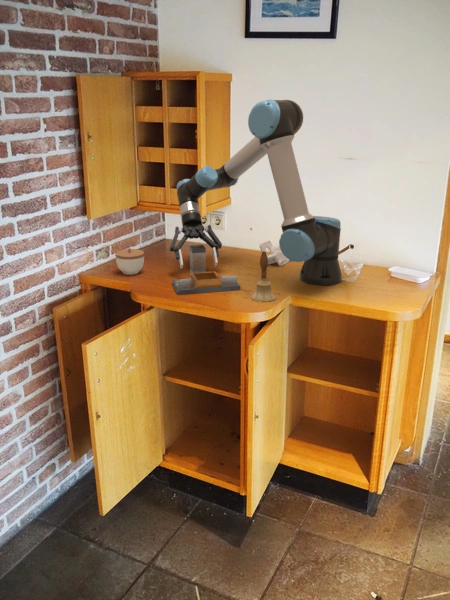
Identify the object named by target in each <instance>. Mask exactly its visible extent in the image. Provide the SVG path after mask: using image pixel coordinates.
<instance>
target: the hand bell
mask: <svg viewBox="0 0 450 600" xmlns="http://www.w3.org/2000/svg"><path fill="white" fill-rule="evenodd" d="M266 253H267V251H266V252H265V251H263V252H261V255H260V258H259V261H260V262H259V265H260V269H261V278H260V280H258V282H257V283H256V288H255V291H254V292H253V293H252V295H251V297H250V298H251V300H252V301H255V300H256V301H255V302H258V301H261V302H260V303H267V302H268V303H269V302H272V301H275V300H276V299H277V297H276V295H275V294H274V293H273V291H272V286H271V282H270V281H268V280H267V269H268V266H269V265H268V258H267V256H268V253H267V254H266Z"/></svg>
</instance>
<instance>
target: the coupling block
mask: <svg viewBox="0 0 450 600" xmlns="http://www.w3.org/2000/svg"><path fill="white" fill-rule="evenodd" d="M206 249H207V248H206V247H205V245H204V244H195V245H189V271H190V275H191V273H200V272H207V259H206V258H207V250H206Z"/></svg>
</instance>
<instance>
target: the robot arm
mask: <svg viewBox="0 0 450 600" xmlns="http://www.w3.org/2000/svg"><path fill="white" fill-rule="evenodd" d="M247 121H248V122H247V124H248V130H249V132H250V133H251V134H252V136H254V137H253V138H252V139H251V140H250V141H249V142H247V143H246V144H245V145H244V146H243V147H241V149H239V151H237V152H236V153H235V154H234V155H233V156H232V157H230V159H228V160H227V161H226V162H225V163H224V164H222V166H220V167H219V168H216V169H215V168H213V167H212V166H209V165H205V166H203V167H201V168H200V169H199V170H197V172H196V173H195V174H194V175H193V176H192V177H191V178H184V179H182V180H180V181H178V182H177V184H176V195H177V199H178V200H177V201H178V205H179V211H180V218H181V219H180V220H181V224H182V225H181V226H182V227H179V226H175V229H174V235H173V239H172V240H171V244H170V247H169V252H174V254H175V259H176V260H178V261H179V268H180V269H183V267H184V262H183V255H182V247H183V245H184V244H185V243H186V241H187V240H188V239H189V240H192V239H200V240H202V241H203V242H205V243H206V244H207V245H208V246H209V247H210V248H211V249H212V251H211V252H212V258H213V263H214V267H217V266H218V263H219V261H218V258H219V256H220V252H219V249H222V246H223V243H222V242H221V240H220V239H219V237H218V236H217V235H216V233H215V231H214V230H213V229H212V226H211V224H208V225H207V226H204V225H203V222H202V216H201V210H200V205H199V199H200V198H201V197H202V196H203V195H204V194H205V193H206V192H208V191H214V190H217V189H223V188H230V187H232V186H235V185H237V184H238V181H239V178H240V177H241V176H242V175H243V174H244V173H246V172H247V171H248V170H249V169H251V168H252V167H253V166H254V165H255V164H256V163H258V162H259V161H260V160H262V159H263V158H264V157H265V156H266V155H267V158H268V162H269V166H270V170H271V174H272V178H273V181H274V186H275V189H276V194H277V197H278V201H279V205H280V209H281V213H282V216H283V221H282V223H281V227H280V228H281V231H282V234H281V235H280V238H279V240H278V241H279V242H278V246H280V249H281V251H282V253H283V255H284V256H285V257H286V258H288V259H289V260H290V261H291V262H294V263H301V262H303V264H302V267H301V269H300V272H299V278H300V281H302V282H303V283H307V284H310V285H316V286H332V285H337V284H339V283H341V282H342V277H343V274H342V270H341V265H340V262H339V255H340V254H339V251H340V239H341V230H342V228H341V224H342V223H341V220H340V219H338V218H335V217H329V216H323V215H322V216H319V215H312V214H311V213H309V208H308V205H307V201H306V197H305V196H306V195H305V192H304V189H303V184H302V181H301V176H300V173H299V168H298V164H297V160H296V156H295V153H294V149H293V145H292V143H293V142H292V141H294V138H295V135H296V133H298V132H299V130H301V127H302V125H303V123H304V113H303V110H302V108H301V106H300V105H299V104H298V103H297V102H295V101H293V100H289V99H266V100H261V101H259V102H257V103H255V105H254V106H252V108H251V110H250V112H249V114H248V118H247ZM181 232H182V233H183V234H184V235H183V236H182V238H181V239H180V240H179V242H178V243H177V240H178V238H179V235H180V234H181ZM205 232H206V233H207V234H208V235H207V234H206V233H205ZM176 243H177V245H176ZM175 245H176V246H175Z"/></svg>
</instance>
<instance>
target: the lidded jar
mask: <svg viewBox="0 0 450 600" xmlns="http://www.w3.org/2000/svg"><path fill="white" fill-rule="evenodd" d="M114 254H115V262H116V265H117V268H118V269H119V271H121V272H122V274H123V275H129V276H130V275H131V276H132V275H137V274H139V272H140V271H141V270H142V269H143V266H144V262H145V252H144V250H141V249H134V248H131V247H129V248H126V249H121V250H118V251H116V252H115V253H114Z"/></svg>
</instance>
